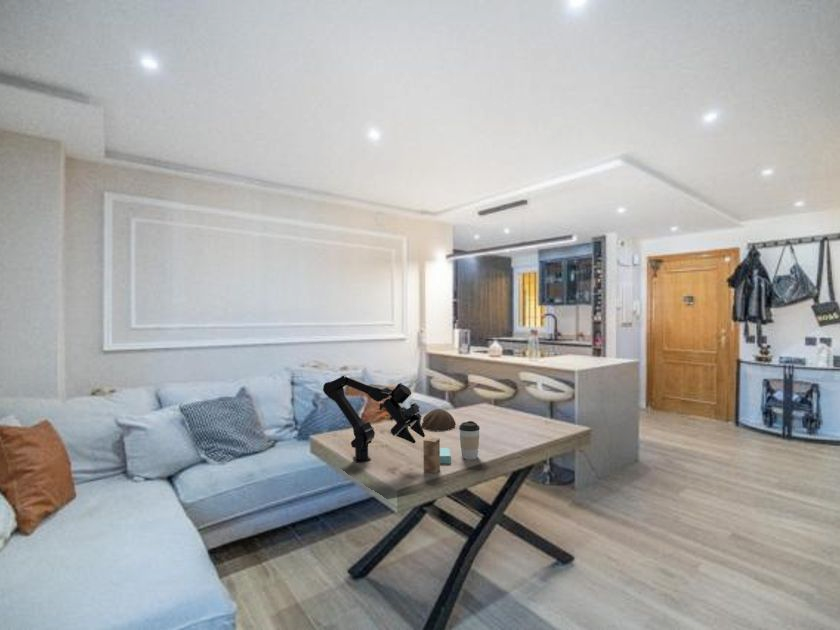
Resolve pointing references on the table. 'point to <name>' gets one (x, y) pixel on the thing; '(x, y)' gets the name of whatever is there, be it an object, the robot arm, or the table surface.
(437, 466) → the block
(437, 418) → the decorative dome
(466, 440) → the coffee cup
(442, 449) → the base
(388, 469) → the table surface
